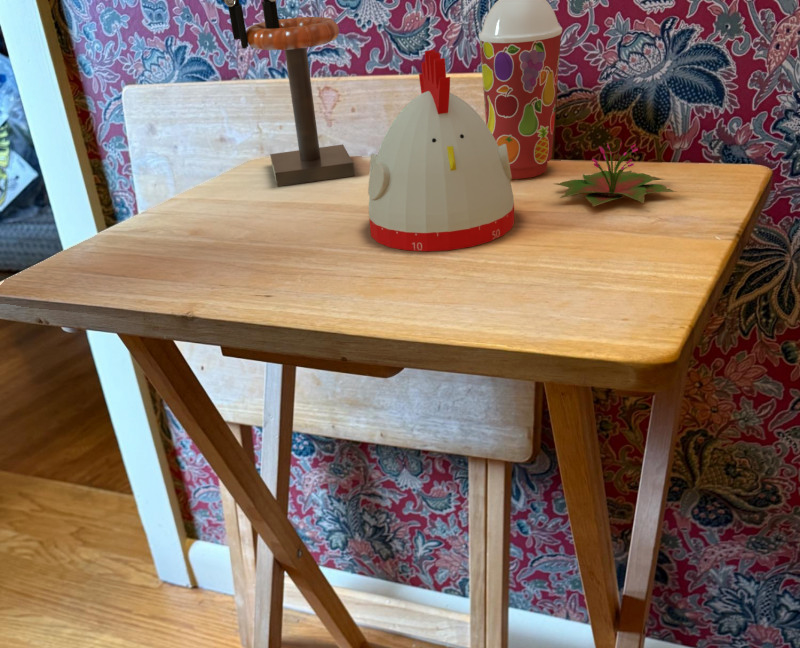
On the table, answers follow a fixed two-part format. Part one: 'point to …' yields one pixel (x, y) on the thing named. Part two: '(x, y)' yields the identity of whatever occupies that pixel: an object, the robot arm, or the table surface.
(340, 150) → the peg stand
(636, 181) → the lily flower
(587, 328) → the table surface
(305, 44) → the ring
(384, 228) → the kitchen timer
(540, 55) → the smoothie
